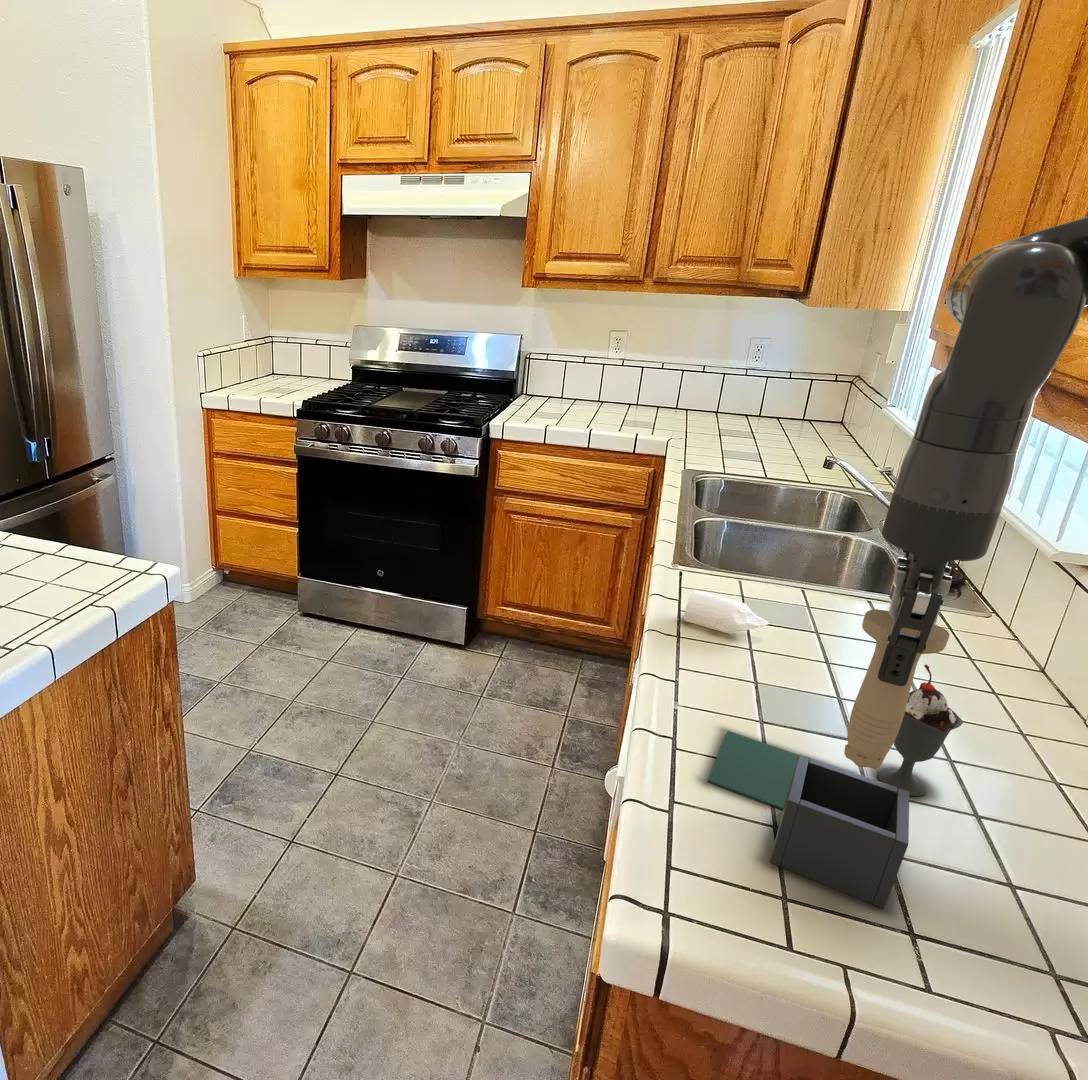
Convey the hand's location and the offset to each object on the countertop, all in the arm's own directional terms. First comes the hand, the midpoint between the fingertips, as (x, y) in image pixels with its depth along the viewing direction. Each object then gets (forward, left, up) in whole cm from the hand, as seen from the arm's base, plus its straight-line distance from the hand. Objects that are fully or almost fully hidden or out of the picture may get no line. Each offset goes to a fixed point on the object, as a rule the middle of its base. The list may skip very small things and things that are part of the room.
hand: (891, 668), depth 70 cm
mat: (+6, -11, -23) cm, 26 cm away
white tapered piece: (+19, -47, -23) cm, 56 cm away
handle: (0, 0, -11) cm, 11 cm away
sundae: (-6, -19, -23) cm, 30 cm away
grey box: (0, 0, -23) cm, 23 cm away
